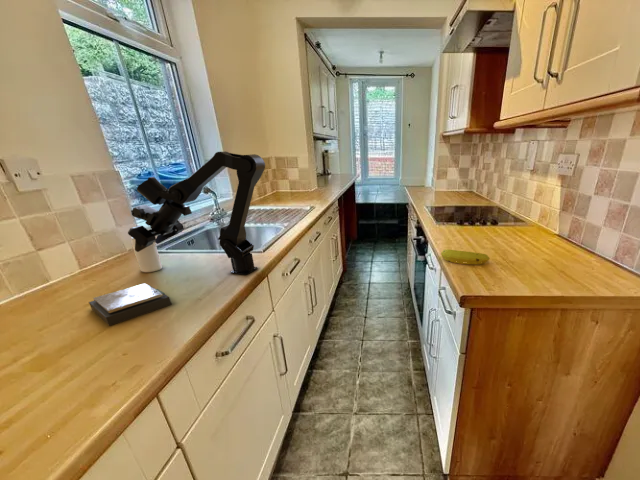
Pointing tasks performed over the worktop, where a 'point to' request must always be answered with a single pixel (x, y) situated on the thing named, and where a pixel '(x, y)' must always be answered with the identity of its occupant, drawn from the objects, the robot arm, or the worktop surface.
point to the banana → (464, 257)
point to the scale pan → (127, 297)
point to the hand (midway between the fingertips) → (146, 246)
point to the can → (148, 258)
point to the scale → (130, 309)
